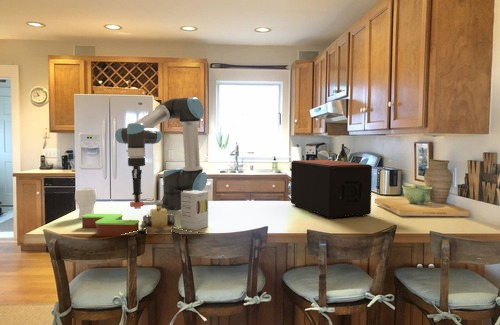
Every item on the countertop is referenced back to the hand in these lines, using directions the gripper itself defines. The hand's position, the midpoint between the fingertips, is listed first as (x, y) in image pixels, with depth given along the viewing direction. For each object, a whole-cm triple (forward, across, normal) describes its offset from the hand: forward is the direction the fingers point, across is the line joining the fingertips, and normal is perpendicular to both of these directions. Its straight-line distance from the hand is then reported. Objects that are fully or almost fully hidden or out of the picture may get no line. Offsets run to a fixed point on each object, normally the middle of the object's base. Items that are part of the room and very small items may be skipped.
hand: (137, 208), depth 168 cm
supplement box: (+10, +2, +26) cm, 28 cm away
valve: (+8, 0, +9) cm, 13 cm away
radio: (+10, -26, +104) cm, 107 cm away
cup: (+10, -28, -29) cm, 42 cm away
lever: (-2, +2, +4) cm, 5 cm away
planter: (+10, +1, -12) cm, 16 cm away
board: (+10, 0, +9) cm, 13 cm away
